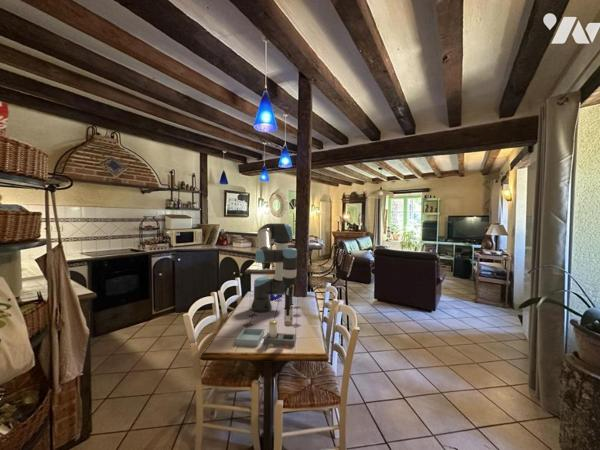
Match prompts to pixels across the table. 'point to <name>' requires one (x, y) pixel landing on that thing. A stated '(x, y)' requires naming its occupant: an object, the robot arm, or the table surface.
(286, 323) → the fuse
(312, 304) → the table surface
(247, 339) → the parts tray
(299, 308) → the table surface
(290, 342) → the fuse block
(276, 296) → the cable clip
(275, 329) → the fuse
